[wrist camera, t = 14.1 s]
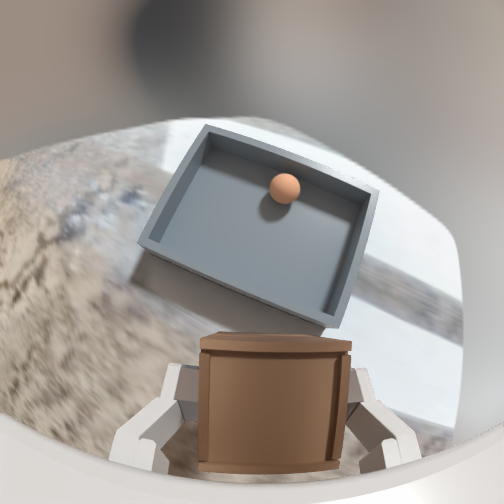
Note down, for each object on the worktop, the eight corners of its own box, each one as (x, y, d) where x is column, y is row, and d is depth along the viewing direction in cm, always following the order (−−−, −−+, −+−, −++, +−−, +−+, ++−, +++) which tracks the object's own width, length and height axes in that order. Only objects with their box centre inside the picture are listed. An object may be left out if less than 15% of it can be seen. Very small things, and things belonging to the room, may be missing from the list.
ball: (269, 209, 28) (265, 188, 25) (272, 188, 29) (269, 167, 27) (299, 210, 27) (298, 189, 25) (301, 188, 29) (300, 167, 26)
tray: (150, 253, 28) (136, 242, 24) (209, 145, 31) (205, 124, 27) (325, 327, 26) (338, 328, 22) (364, 206, 29) (379, 190, 26)
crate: (217, 408, 14) (198, 470, 7) (220, 331, 15) (200, 338, 8) (297, 410, 14) (338, 468, 7) (302, 334, 15) (351, 341, 8)
